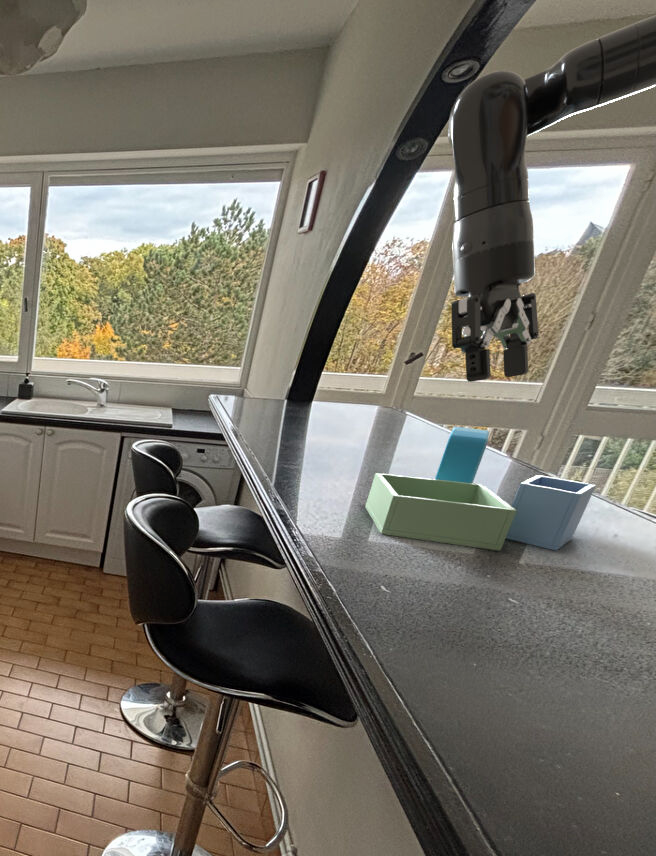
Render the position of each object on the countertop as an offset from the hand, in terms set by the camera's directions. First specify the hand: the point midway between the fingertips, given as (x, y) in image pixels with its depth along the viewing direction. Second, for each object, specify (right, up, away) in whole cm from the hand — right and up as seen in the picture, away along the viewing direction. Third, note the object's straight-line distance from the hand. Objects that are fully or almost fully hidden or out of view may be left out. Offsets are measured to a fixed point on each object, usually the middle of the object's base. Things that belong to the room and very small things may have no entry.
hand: (497, 378), depth 77 cm
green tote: (-1, -19, +10) cm, 22 cm away
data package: (+11, -15, +21) cm, 28 cm away
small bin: (+12, -21, +7) cm, 25 cm away
